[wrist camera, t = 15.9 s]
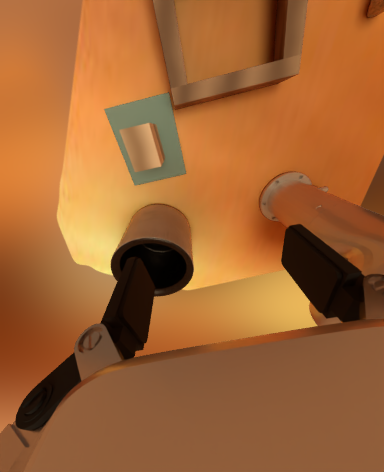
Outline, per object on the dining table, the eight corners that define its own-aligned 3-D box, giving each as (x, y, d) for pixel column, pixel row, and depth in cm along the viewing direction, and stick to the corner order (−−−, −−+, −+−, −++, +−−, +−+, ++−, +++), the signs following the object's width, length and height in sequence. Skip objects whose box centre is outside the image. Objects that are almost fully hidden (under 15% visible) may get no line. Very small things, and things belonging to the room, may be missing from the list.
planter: (128, 198, 39) (103, 233, 26) (194, 206, 41) (201, 242, 28) (131, 250, 47) (113, 296, 34) (185, 254, 50) (188, 299, 37)
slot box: (288, -72, 21) (324, -138, 16) (278, 83, 29) (299, 73, 24) (146, -29, 22) (136, -77, 17) (175, 109, 30) (174, 105, 25)
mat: (168, 92, 29) (168, 92, 28) (186, 173, 36) (186, 173, 36) (105, 109, 29) (104, 109, 29) (135, 185, 37) (134, 185, 37)
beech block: (156, 124, 31) (148, 122, 23) (165, 158, 34) (161, 166, 27) (133, 129, 31) (119, 130, 24) (144, 163, 34) (135, 172, 27)
